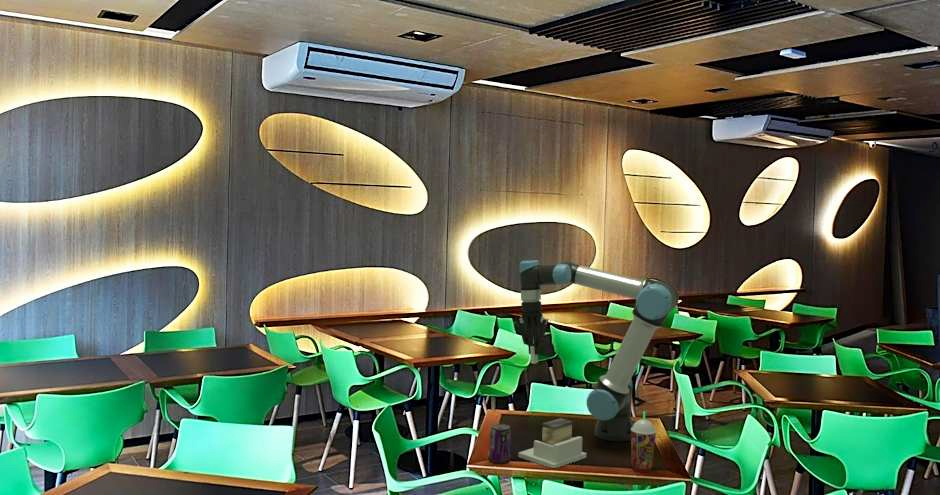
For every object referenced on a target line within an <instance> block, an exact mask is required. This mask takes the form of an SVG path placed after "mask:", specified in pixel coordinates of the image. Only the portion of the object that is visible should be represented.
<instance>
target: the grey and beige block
mask: <svg viewBox="0 0 940 495" xmlns="http://www.w3.org/2000/svg"><path fill="white" fill-rule="evenodd" d="M573 423H574V422H573V421H572V420H569V419H566V418H562V417H560V418H556V419H553V420H550V421H549V420H548V421H546V422H543V423H541V424H542V426H541V427H542V433H541V435H542V438H541V442H543V443H546V444H549V445H552V446H553V445H554V444H557V443H560V442H563V441H566V440H569V439H571V438H572V433H573Z"/></svg>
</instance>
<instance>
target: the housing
mask: <svg viewBox="0 0 940 495" xmlns="http://www.w3.org/2000/svg"><path fill="white" fill-rule="evenodd" d="M517 454H518V458H521V459H522V460H526V461H529V462H532V463H534V464H536V465H537V464H538V465H541V466H543V465H544V466H543V467H546V466H547V467H546V468H549V467H551V468H556V469H558V468H557V467H559V468H561V467H560V466H562V467H563V465H564V466H567V465H570V464H572V462H573V463H576V462H577V461H581V460H583V459H585V458H586V459H587V455H588V454H587V452H584V451H583V436H580V435H579V436H575V437H572V438H571V439H569V440H566V441H563V442H560V443H557V444H554V445H553V446H552V445H549V444H546V443H543V442H542V441H540V440H536V439H535V440H533V447H531V448H529V449H525V450H522V451H519V452H518V453H517ZM569 463H570V464H569ZM566 464H567V465H566ZM551 468H550V469H551Z"/></svg>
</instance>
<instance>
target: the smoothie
mask: <svg viewBox="0 0 940 495" xmlns="http://www.w3.org/2000/svg"><path fill="white" fill-rule="evenodd" d="M642 415H643V416H642V418H641V419H638V420H635V422H634V423H633V427H632V428H631V440H630V444H631V446H630V447H631V451H630V452H631V466H632V469H633V470H634V471H636V472H639V473H648V472H650V471H651V469H652V468H653V461H654V454H655V453H654V452H655V444H656V443H655V442H656V437H657V435H656V434H657V429H656V428H655V425H654V424H653V423H652V422H651V421H650V420H649V419H646V411H644V410H643V414H642Z"/></svg>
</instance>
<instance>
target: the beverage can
mask: <svg viewBox="0 0 940 495" xmlns="http://www.w3.org/2000/svg"><path fill="white" fill-rule="evenodd" d="M511 438H512V430H511V426H510V425H508V424H506V423H505V424H504V423H495V424H492V426H491V429H490V432H489V460H491V461H493V462H494V463H497V464H504V463H506V462H509V461H510V460H511V446H512V445H511V442H512V440H511Z"/></svg>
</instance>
